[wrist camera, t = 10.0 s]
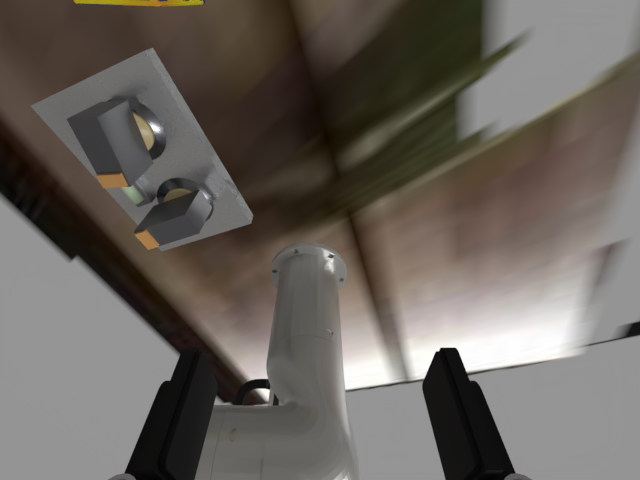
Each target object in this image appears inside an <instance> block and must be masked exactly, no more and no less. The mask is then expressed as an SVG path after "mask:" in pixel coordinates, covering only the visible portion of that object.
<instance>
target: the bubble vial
mask: <svg viewBox="0 0 640 480" xmlns="http://www.w3.org/2000/svg"><path fill="white" fill-rule="evenodd" d="M120 188H121V189H122V190H123V192H124V193H125V194H126V195H127V196H128V197H129V199H130V200H131V201H132V202H133V203H134V204H135V205H136V206H137V207H141V206H143V205H146V204H149V203H152V202H153V200H154V199H155V198H154V196H153V195H152V194H151V193H150V191H149V190H148V189H147V188H146V186H145V185H144V184H143V183H142V182H141V180H140V179H138V180H137V181H136V182H135V183H134V184H133V185H132V186H131V187H120Z"/></svg>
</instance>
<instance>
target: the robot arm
mask: <svg viewBox="0 0 640 480" xmlns="http://www.w3.org/2000/svg"><path fill="white" fill-rule="evenodd" d="M270 277H271V280H272V282H273V284H274V285H275V287H276V288H277V293H276V300H275V307H274V314H273V321H272V328H271V334H270V341H269V348H268V355H267V363H266V369H267V376H268V380H269V383H270V385H271V387H272V389H273V391H274V393H275V395H276V396H277V398H278V399H279V401H280V402H281V404H282V405H280V406H243V405H214V402H215V398H216V395H217V390H218V383H217V381H216V378H215V376H214V374H213V371H212V369H211V366H210V364H209V362H208V359H207V357H206V355H205V352H204V351H201V350H200V348H184V349H183V350H182V352H181V354H180V356H179V359H178V362H177V364H176V367H175V369H174V372H173V375H172V377H171V380H170V381H164V382H163V383H162V384H161V385H160V387H159V389H158V392H157V394H156V396H155V399H154V401H153V404H152V406H151V409H150V411H149V414H148V416H147V419H146V421H145V423H144V426H143V428H142V431H141V433H140V436H139V438H138V441H137V443H136V445H135V448H134V450H133V453H132V455H131V458H130V460H129V463H128V465H127V468H126V470H125V472H124V473H122V474H118V475H115V476H113V477H112V478H110V479H108V480H360V471H359V460H358V454H357V448H356V443H355V439H354V434H353V430H352V425H351V421H350V416H349V411H348V405H347V398H346V390H345V381H344V369H343V353H342V337H341V321H340V305H339V290H340V289H341V288H342V287H343V285H344V283H345V281H346V278H347V268H346V264H345V261H344V259H343V258H342V257H341V255H340V254H339V253H338V252H336V251H335V250H334V249H332V248H330V247H328V246H325V245H323V244H318V243H311V242H304V243H297V244H293V245H290V246H288V247H286V248H284V249H282V250H281V251H280V252H279V253H278V254H277V255H276V256H275V257H274V259H273V260H272V263H271V267H270ZM422 390H423V395H424V398H425V402H426V406H427V410H428V414H429V418H430V422H431V426H432V429H433V433H434V437H435V441H436V445H437V449H438V453H439V457H440V461H441V464H442V468H443V472H444V476H445V480H532V479H530V478H528V477H527V476H525V475H522V474H518V473H516V472H515V470H514V468H513V465H512V463H511V460H510V458H509V455H508V453H507V450H506V448H505V445H504V443H503V441H502V438H501V436H500V433H499V431H498V428H497V426H496V423H495V421H494V419H493V416H492V414H491V411H490V409H489V406H488V404H487V401H486V399H485V396H484V394H483V392H482V389H481V387H480V385H479V384H478V383H477V382H476V381H470V380H469V377H468V375H467V372H466V369H465V367H464V364H463V362H462V359H461V356H460V354H459V352H458V350H457V349H456V348H440V350H439V351H436V352H435V355H434V357H433V359H432V362H431V364H430V366H429V369H428V371H427V374H426V376H425V378H424V381H423V383H422Z"/></svg>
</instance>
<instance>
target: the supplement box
mask: <svg viewBox="0 0 640 480" xmlns="http://www.w3.org/2000/svg"><path fill="white" fill-rule="evenodd" d="M73 1H74V2H75V3H76V4H90V5H125V6H186V5H202V4H205V0H73Z"/></svg>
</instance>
